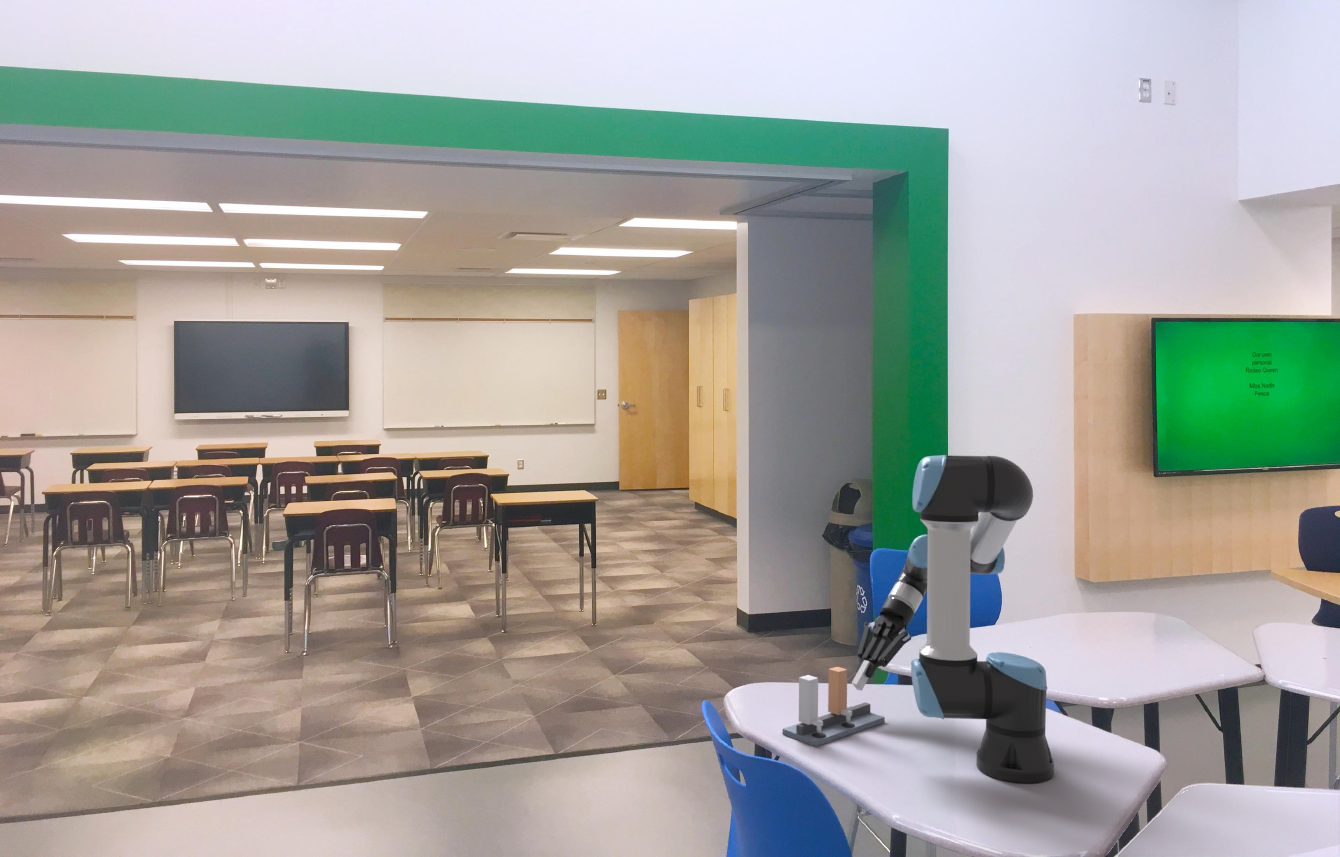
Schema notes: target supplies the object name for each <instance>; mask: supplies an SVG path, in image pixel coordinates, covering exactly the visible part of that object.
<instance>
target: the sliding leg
mask: <svg viewBox="0 0 1340 857" xmlns="http://www.w3.org/2000/svg"><path fill="white" fill-rule="evenodd" d="M827 683H828V684H827V685H828V692H827V693H828V694H827V695H828V696H827V700H828V701H827V707H828V708H827V710H828V711H827V712H828V713H833V714H836V715H840V714H842V715H845V716H846V722H851V716H852V711H849V710H847V707H848V669H846V668H843V667H839V666H835V667H831V668H828V682H827Z"/></svg>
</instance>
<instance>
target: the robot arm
mask: <svg viewBox="0 0 1340 857" xmlns="http://www.w3.org/2000/svg"><path fill="white" fill-rule="evenodd" d="M914 475H915V476H914V480H913V486H912V494H911V495H912V510H913V511H914V512H917V513H919V515H920V517H919V519H920V522H921V523H923V525H924V526H925V527H926V529H927V534H921V535H918V536H917V537H916V538H914V539H913V541H912V542H911V544H910V547H909V548H908V552H907V557H906V560H905V562H904V566H903V569H902V570H901V572H900V574H899V576H898V578H897V580H896V581H895V583H894V585H893V587H892V589H891V590H890V592H889V594H888V596H887V598H886V600H885V601H884V603H883V605H882V606H881V608H880V612H879V614H878V615H879V616H878V617H876V618H874V619H875V620H874V621H873V622H869V621H865V622H864V623H863V629H864V630H863V633H862V637H861V639H860V642H859V646H858V648H857V652H856V656H857V657H858V658H859V659H860V663H859V664H858V666H857V668H856V670H855V671H856V674H855V676H854V677H853V679H852V681H851V684H852V685H853V686H854V688H855V689H856V690H857V691H861V692H862V691H863V690H864V688H865V686H866V684H867V683H868V680H869V679H871V678H872V677H873V676H874V674H875V672H876V670H877V669H878V668H880V667H882V668H885V667H887V666H888V664H890V662H892V660H893V659H894V657H895V656H896V655H897V654H898V653H899V651H900V650H901V649H902V648H903V646H904V645H905V644H907V643H908V642H910V641H911V640H912V636H911V634H909V632H908V631H907V628H908V626H910V623H911V622H912V620H913V618H914V616H915V613H916V612H917V611H918V608H919V607H920V605H921V603H922V601H923V599H924V598H925V595H927V598H926V602H927V603H926V642H925V644H924V645H923V646H922V647H921V648H919V652H918V655H919V658H915V659H913V660H912V661H911V664H910V665H911V666H910V667H911V669H910V674H911V681H912V682H911V683H912V689H913V693H914V699H915V703H916V706H917V709H918V711H919V713H920V714H921V715H922V716H924V717H927V718H934V719H935V718H936V719H937V718H938V719H942V720H945V719H959V720H960V719H961V720H962V719H966V720H985V730H984V733H983V737H982V738H981V739H982V740H981V742H980V745H979V748H978V750H977V752H976V758H975V759H976V761H975V762H976V764H975V765H976V767H977V769H978V770H979V771H981V773H983V774H985V775H987V776H989V777H991V778H994V779H998V780H1002V781H1007V782H1012V783H1017V784H1019V783H1020V784H1034V783H1042V782H1045V781H1048V780H1050V779H1052V778H1053V776H1054V771H1055V769H1054V768H1055V763H1054V759H1053V757H1052V753H1051V749H1050V747H1049V743H1048V739H1047V736H1046V723H1047V721H1046V720H1047V718H1046V714H1047V690H1048V684H1047V672H1046V669H1045V667H1044V666H1043V665H1042V664H1041V663H1040V662H1038V661H1037V660H1034V659H1033V658H1029V657H1026V656H1022V655H1020V654H1016V653H1010V652H1002V651H1001V652H1000V651H995V652H990V653H988V654H987V657H985V658H986V659H985V660H984V661H982V660H981V661H979V660H978V653H977V652H976V650H974V648H973V647H972V646H971V645H970V644H971V640H970V639H971V635H970V634H971V621H970V620H971V575H985V576H987V575H988V576H989V575H998V574H1001V573H1002V572H1003V570H1004V568H1005V563H1006V562H1005V561H1006V558H1005V557H1006V556H1005V554H1006V553H1005V549H1004V545H1005V543H1006V542H1007V540H1008V538H1009V536H1010V534H1011V532H1012V531H1013V529H1014V527H1015V526H1016V523H1017V521H1019V520H1021V519H1022V518H1024V517H1025V516H1026V515H1027V513H1028V512H1029V510H1030V508H1031V507H1032V504H1033V500H1034V499H1033V498H1034V490H1033V486H1032V482H1031V480H1030V478H1029V476H1028V475H1027V473H1026V472H1025V471H1024V470H1023V469H1022V468H1021V467H1020V466H1019V465H1018V464H1016V463H1015V462H1013V461H1011V460H1009V459H1007V458H1004V457H1001V456H996V455H984V456H983V455H946V454H943V455H930V456H929V455H928V456H924V457H923V458H922V459H921V460H920V461H919V463H918V464H917V468H916V471H915V474H914ZM926 593H927V594H926Z"/></svg>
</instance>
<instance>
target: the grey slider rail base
mask: <svg viewBox="0 0 1340 857" xmlns="http://www.w3.org/2000/svg"><path fill="white" fill-rule="evenodd" d="M847 710H849V711H852V716H851V722H846V716H845V715H842V714H840V715H836V714H833V713H830V712H828V713H826V714H824V715H820V716H819V678H818V677H816V676H813V675H810V674H807V675H806V674H805V675H803V676H800V677H798V722H799V723H796V724H793V725H790V726H787V727H785V728H782V735H784V736H787V737H790V738H792V739H796V740H798V741H800V742H803V743H806V744H808V745H811V746H814V747H818V746H822V745H825V744H826V743H829V742H833V741H835V740H839V739H841V738H844V737H846V736H849V735H852V734H856V733H858V732H861V731H864V730H867V729H869V728H871V727H874V726H879V725H880V724H883V723H885V721H886V719H885V716H882V715H879V714H877V713H875V712H874V713H873V712H871V703H868V702H862V703H860V704H856V705H853V706H852V705H851V706H847Z"/></svg>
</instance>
